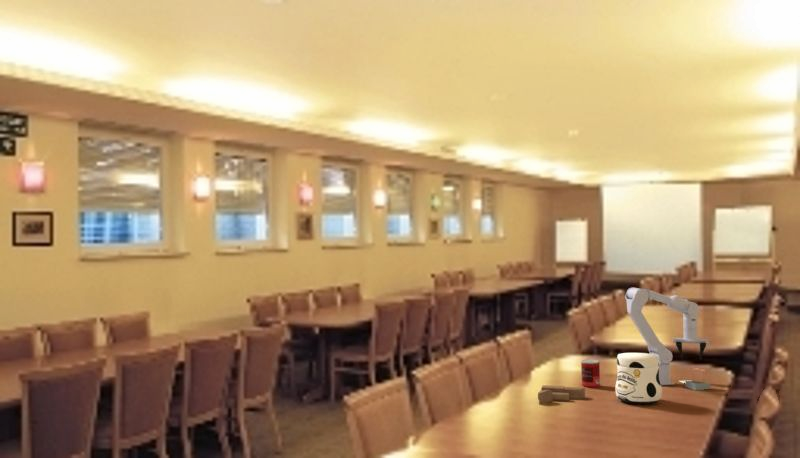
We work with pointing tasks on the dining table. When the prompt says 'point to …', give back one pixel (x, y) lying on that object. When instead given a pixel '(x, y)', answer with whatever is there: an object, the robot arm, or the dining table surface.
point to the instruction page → (685, 381)
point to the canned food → (590, 373)
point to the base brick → (697, 385)
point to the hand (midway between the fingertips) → (691, 359)
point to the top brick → (698, 375)
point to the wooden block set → (559, 393)
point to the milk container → (638, 378)
